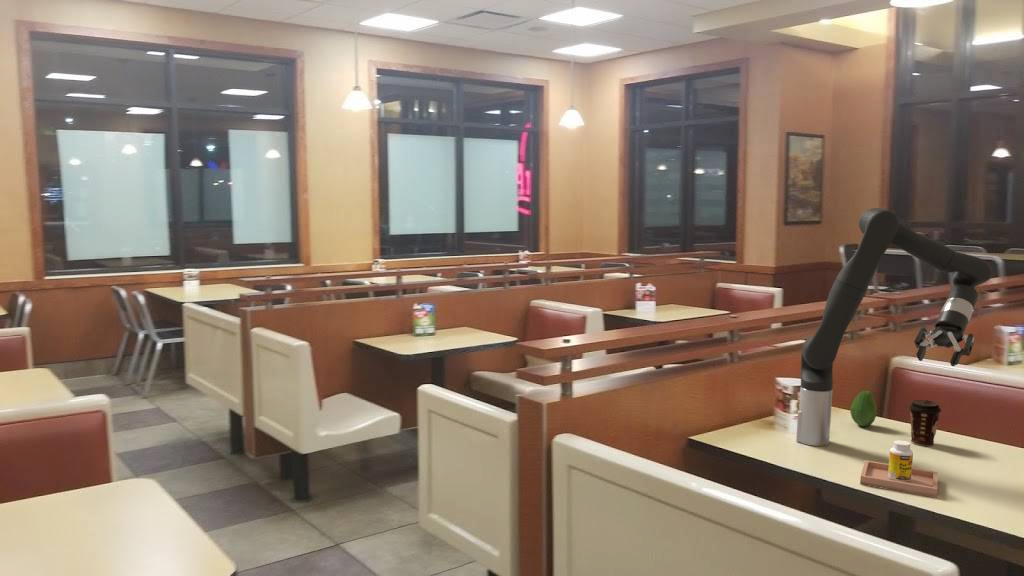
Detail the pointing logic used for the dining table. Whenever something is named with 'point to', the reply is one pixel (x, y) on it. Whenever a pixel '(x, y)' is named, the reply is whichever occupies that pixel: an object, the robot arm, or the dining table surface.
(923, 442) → the coffee cup
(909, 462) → the supplement bottle
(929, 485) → the tray
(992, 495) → the dining table surface
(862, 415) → the avocado
